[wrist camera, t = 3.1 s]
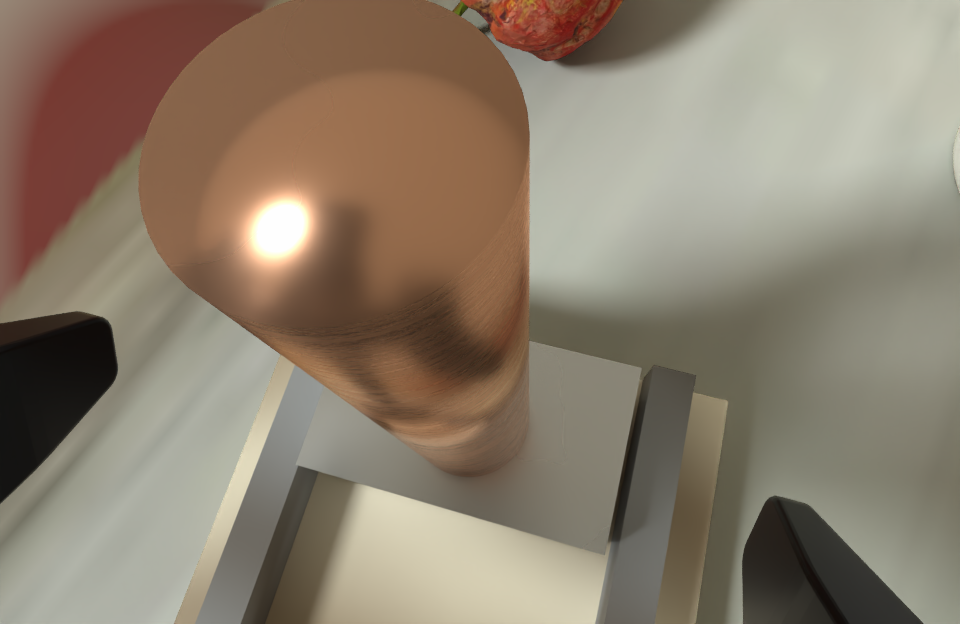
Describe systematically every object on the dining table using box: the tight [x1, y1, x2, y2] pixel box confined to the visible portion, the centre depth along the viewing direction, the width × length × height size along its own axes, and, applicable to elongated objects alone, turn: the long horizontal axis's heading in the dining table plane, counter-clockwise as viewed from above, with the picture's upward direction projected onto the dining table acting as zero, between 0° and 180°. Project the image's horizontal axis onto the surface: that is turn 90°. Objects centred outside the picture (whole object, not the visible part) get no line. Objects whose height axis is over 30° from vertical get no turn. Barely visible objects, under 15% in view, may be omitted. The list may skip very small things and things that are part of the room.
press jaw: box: [139, 0, 642, 555], centre depth 10 cm, size 4×7×13 cm, turn 74°
